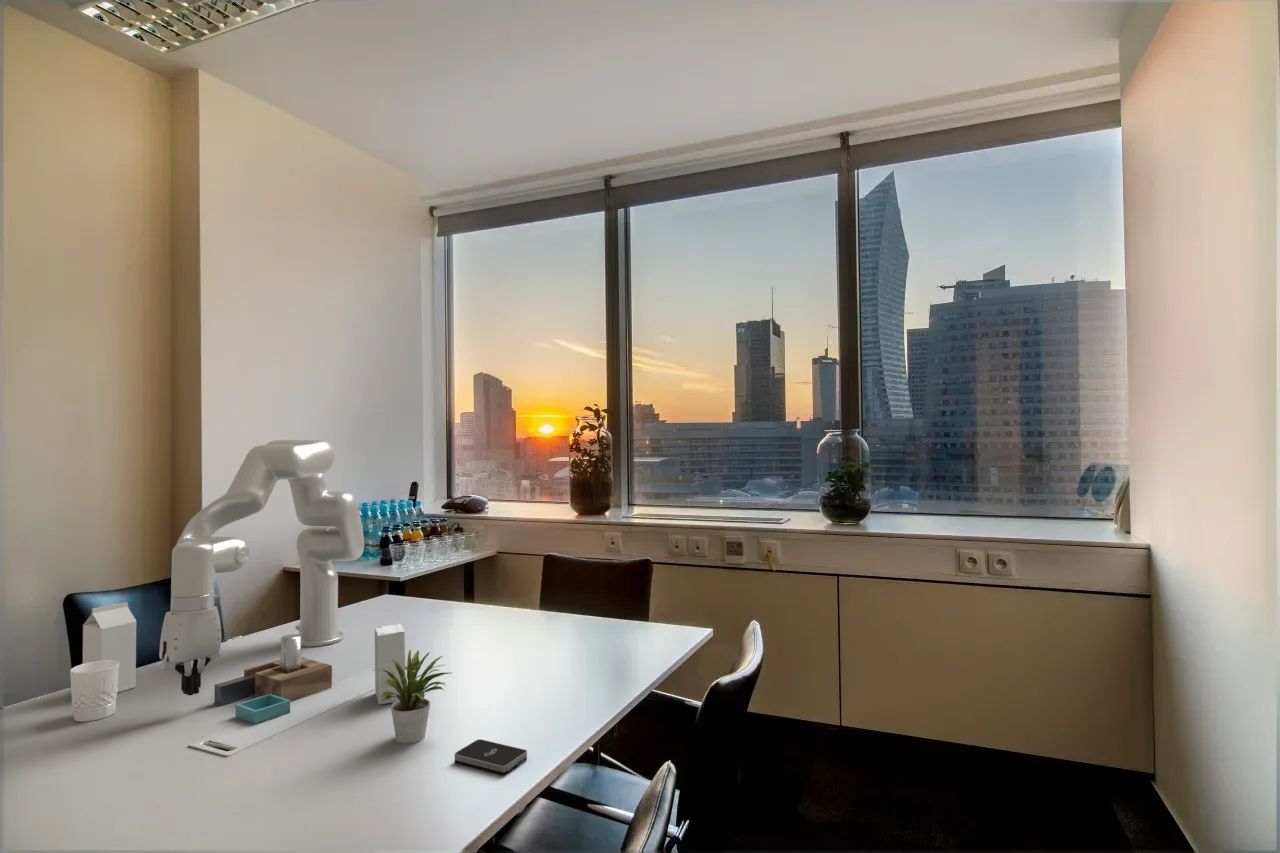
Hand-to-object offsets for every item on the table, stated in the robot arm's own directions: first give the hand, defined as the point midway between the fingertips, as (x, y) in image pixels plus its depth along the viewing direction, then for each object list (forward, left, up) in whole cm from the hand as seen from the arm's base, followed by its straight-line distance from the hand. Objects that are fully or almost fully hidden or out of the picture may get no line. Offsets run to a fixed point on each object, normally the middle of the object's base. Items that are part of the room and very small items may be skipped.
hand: (190, 693), depth 143 cm
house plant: (+48, +14, -4) cm, 51 cm away
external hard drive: (+67, +16, -5) cm, 69 cm away
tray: (+13, +7, -4) cm, 16 cm away
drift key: (0, +9, -4) cm, 10 cm away
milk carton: (-30, -3, -4) cm, 30 cm away
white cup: (-16, -11, -4) cm, 20 cm away
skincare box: (+27, +27, -4) cm, 39 cm away
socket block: (+5, +18, -4) cm, 20 cm away
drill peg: (+5, +18, -4) cm, 20 cm away
